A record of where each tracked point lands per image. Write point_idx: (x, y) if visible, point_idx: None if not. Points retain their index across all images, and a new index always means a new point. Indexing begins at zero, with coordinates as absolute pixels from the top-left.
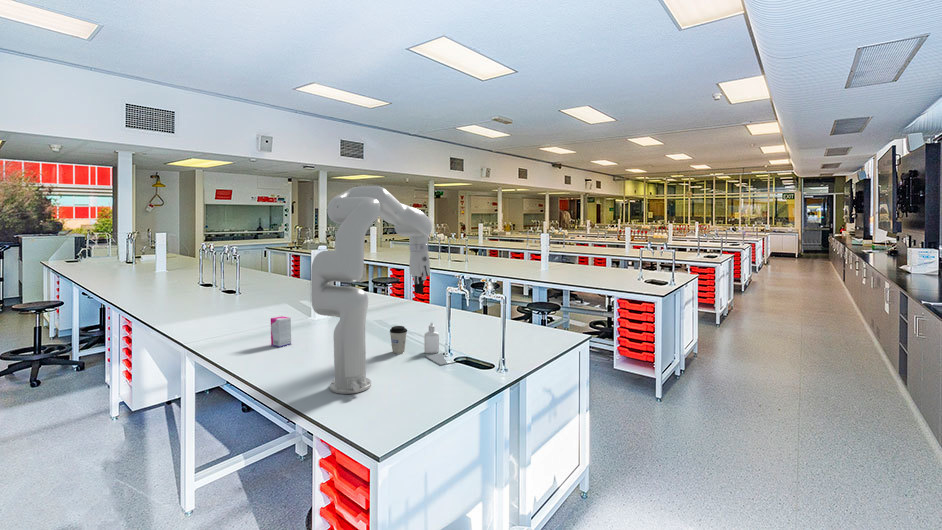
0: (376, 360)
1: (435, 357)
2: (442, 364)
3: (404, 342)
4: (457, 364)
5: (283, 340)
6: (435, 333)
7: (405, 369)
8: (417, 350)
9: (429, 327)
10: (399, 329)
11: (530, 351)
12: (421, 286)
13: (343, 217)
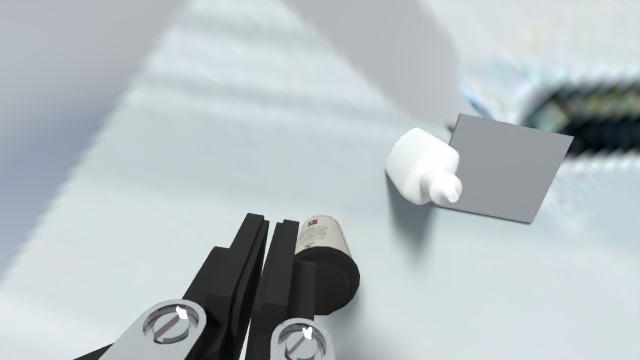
0: (344, 314)
1: (470, 190)
2: (534, 216)
3: (346, 244)
4: (569, 175)
5: None
6: (455, 172)
7: (466, 302)
8: (350, 175)
9: (442, 203)
10: (346, 298)
11: None
12: (311, 316)
13: None
